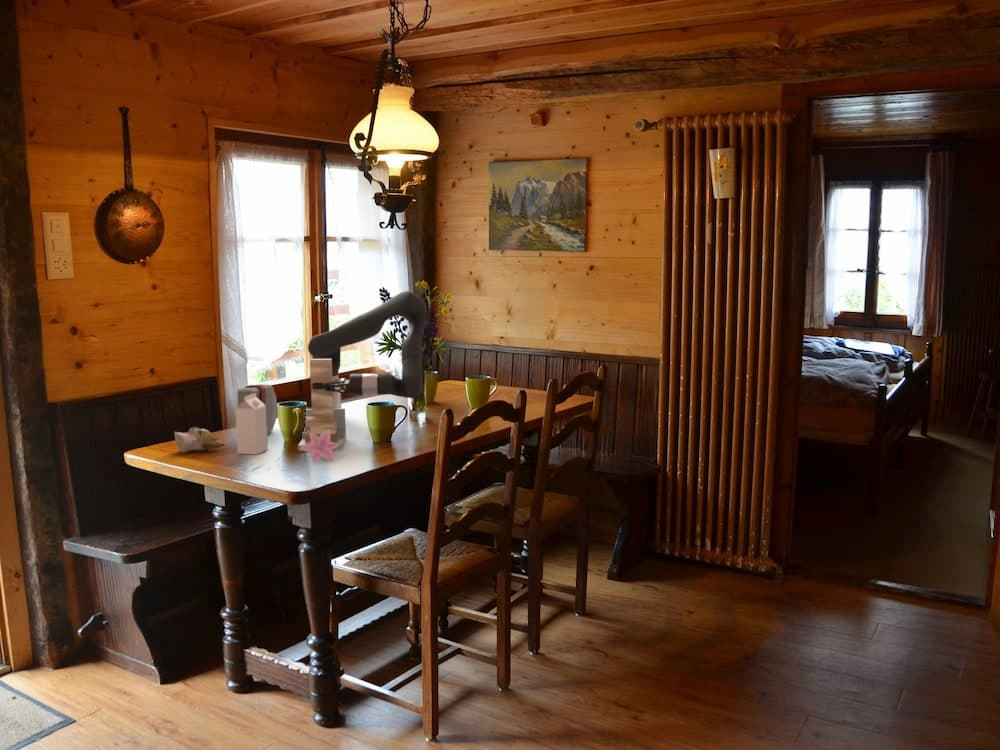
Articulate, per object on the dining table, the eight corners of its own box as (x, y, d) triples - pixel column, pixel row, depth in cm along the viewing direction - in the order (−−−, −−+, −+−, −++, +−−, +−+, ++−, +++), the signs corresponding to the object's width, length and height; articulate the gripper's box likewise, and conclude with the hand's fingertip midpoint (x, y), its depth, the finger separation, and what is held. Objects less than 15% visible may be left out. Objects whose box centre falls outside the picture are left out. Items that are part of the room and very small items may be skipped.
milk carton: (237, 453, 286) (234, 396, 283) (248, 448, 293) (245, 392, 290) (257, 455, 284) (254, 397, 281) (268, 449, 291) (265, 393, 288)
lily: (296, 464, 276) (299, 443, 271) (309, 443, 285) (312, 423, 280) (329, 475, 276) (332, 454, 271) (341, 454, 285) (345, 434, 280)
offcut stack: (307, 439, 297) (306, 416, 296) (337, 438, 298) (336, 415, 297) (304, 443, 291) (303, 419, 290) (335, 442, 292) (334, 419, 291)
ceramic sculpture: (170, 424, 290) (216, 421, 298) (170, 449, 292) (216, 446, 300) (178, 430, 282) (225, 427, 289) (177, 456, 283) (224, 453, 291)
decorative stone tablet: (254, 388, 292) (278, 381, 322) (234, 388, 292) (261, 381, 322) (255, 445, 293) (279, 433, 323) (235, 445, 294) (262, 433, 323)
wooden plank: (313, 427, 302) (310, 358, 298) (334, 427, 302) (331, 358, 298) (312, 429, 299) (309, 359, 295) (333, 428, 300) (330, 359, 296)
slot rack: (305, 440, 305) (304, 409, 303) (346, 439, 306) (344, 408, 304) (298, 451, 289) (296, 418, 287) (341, 450, 290) (339, 417, 288)
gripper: (365, 370, 305) (315, 371, 304) (362, 377, 292) (309, 377, 291) (366, 391, 307) (316, 392, 305) (362, 399, 293) (310, 400, 292)
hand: (313, 385), depth 298 cm, fingers closed on wooden plank, 2 cm apart
